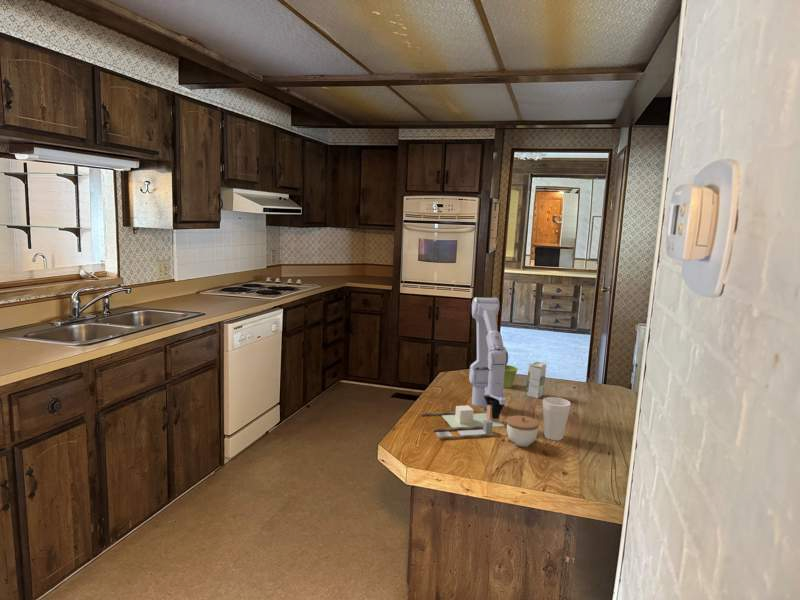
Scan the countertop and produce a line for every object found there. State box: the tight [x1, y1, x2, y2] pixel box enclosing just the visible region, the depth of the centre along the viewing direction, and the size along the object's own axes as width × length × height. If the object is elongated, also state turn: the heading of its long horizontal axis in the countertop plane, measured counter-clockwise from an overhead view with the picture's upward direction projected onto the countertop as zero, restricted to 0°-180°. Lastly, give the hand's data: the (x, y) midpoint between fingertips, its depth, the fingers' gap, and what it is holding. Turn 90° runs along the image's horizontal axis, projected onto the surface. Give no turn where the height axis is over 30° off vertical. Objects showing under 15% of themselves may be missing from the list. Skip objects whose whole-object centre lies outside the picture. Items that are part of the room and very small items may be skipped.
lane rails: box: [420, 411, 499, 441], centre depth 199 cm, size 21×23×2 cm
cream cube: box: [454, 404, 475, 424], centre depth 203 cm, size 5×5×5 cm
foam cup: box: [541, 396, 572, 441], centre depth 194 cm, size 10×9×13 cm
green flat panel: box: [440, 405, 506, 428], centre depth 204 cm, size 20×13×6 cm, turn 104°
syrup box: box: [525, 361, 547, 399], centre depth 238 cm, size 6×6×14 cm
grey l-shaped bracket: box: [457, 420, 493, 436], centre depth 193 cm, size 12×5×5 cm, turn 105°
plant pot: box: [503, 364, 519, 389], centre depth 250 cm, size 9×9×9 cm
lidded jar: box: [506, 415, 540, 447], centre depth 188 cm, size 11×11×9 cm
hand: (493, 416), depth 206 cm, fingers closed on green flat panel, 3 cm apart
